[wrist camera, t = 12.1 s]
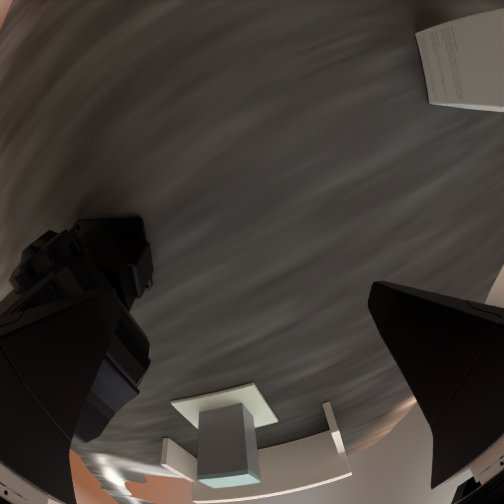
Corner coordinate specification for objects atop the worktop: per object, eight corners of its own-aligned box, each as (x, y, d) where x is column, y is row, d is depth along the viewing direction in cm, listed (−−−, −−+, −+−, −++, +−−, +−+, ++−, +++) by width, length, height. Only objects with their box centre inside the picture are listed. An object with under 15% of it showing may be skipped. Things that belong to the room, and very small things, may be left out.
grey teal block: (198, 412, 31) (196, 479, 22) (242, 402, 31) (248, 473, 22) (212, 425, 33) (213, 488, 24) (253, 416, 32) (261, 482, 23)
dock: (163, 438, 35) (158, 486, 27) (329, 401, 33) (346, 455, 25) (198, 462, 40) (197, 503, 32) (338, 431, 38) (352, 474, 30)
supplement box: (475, 110, 18) (573, 129, 7) (426, 104, 18) (543, 115, 7) (463, 45, 15) (557, 39, 4) (412, 30, 15) (516, 3, 4)
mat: (171, 401, 30) (170, 403, 30) (253, 382, 30) (253, 384, 29) (206, 434, 35) (206, 436, 34) (277, 419, 34) (278, 421, 33)
